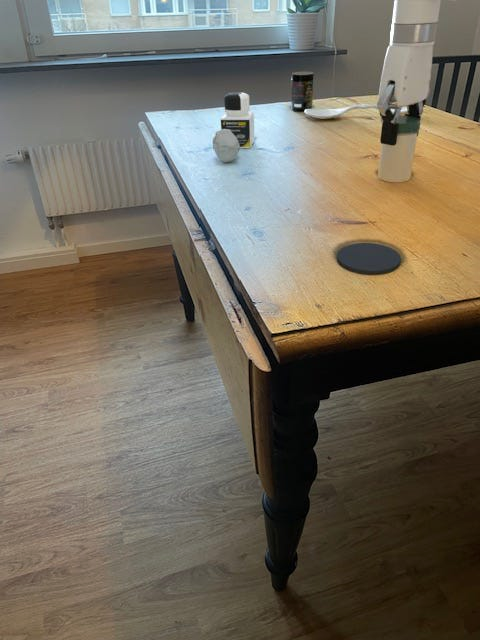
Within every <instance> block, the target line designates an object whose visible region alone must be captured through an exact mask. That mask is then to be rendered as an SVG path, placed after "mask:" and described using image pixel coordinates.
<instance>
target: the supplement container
mask: <svg viewBox="0 0 480 640" xmlns="http://www.w3.org/2000/svg"><path fill="white" fill-rule="evenodd" d="M314 79H315V72H313V71H295V72H291V97H290V98H291V99H290V100H291V101H290V102H291V103H290V104H291V105H290V107H291V110H292V111H293V112H298V113H299V112H300V113H301V112H303V113H305V109H313V107H314V106H313V103H314V81H315V80H314Z"/></svg>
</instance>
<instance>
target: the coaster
mask: <svg viewBox="0 0 480 640" xmlns="http://www.w3.org/2000/svg"><path fill="white" fill-rule="evenodd" d="M336 262H337V263H338V264H339V266H341V267H342V268H343V269H346V270H347V271H350V272H352V273H356V274H361V275H372V276H373V275H375V276H376V275H384V274H389V273H391V272H394V271H395V270H397V269H399V267H400V265H401V262H402V257H401V254H400V253H399V252H398V251H397V250H396V249H393V248H392V247H390V246H387V245H385V244H380V243H375V242H356V243H351V244H350V243H349V244H347V245H344V246H343V247H341V248H340V249H339V250H338V251H337V253H336Z"/></svg>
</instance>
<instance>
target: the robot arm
mask: <svg viewBox="0 0 480 640" xmlns="http://www.w3.org/2000/svg"><path fill="white" fill-rule="evenodd" d="M441 1H442V0H394V2H393V11H392V21H391V22H392V23H391V28H390V29H391V30H390V39H389V45H388V46H387V49H386V53H385V57H384V61H383V67H382V71H381V77H380V84H379V90H378V98H377V99H378V101H377V103H376V105H377V107H378V109H377V110H378V112H379V116H380V122H381V133H380V138H379V139H380V141H379V142H380V144H381V145H382V144H387V145H392V146H394V145H396V142H397V134H398V126H399V123H396V122H397V120H398V117H399V116H400V115H401V114H400V111H401V109H402V107H405V106H407V113H404V116H413V117H417V118H419V119H420V121H421V120H422V119H421V118H422V115H423V113H424V108H425V105H426V103H427V99H428V97H429V96H430V93H431V88H430V83H431V76H432V67H433V54H434V53H433V52H434V45H435V43H436V42H435V40H436V36H437V35H436V34H437V29H438V22H439V15H440V9H441V3H442V2H441ZM447 1H450V2H457V1H458V2H459V1H460V0H447ZM390 109H395V111H394V114H392V112H391V110H390ZM419 133H420V129H419V130H418V131H417V137H419Z"/></svg>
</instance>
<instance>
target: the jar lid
mask: <svg viewBox="0 0 480 640" xmlns="http://www.w3.org/2000/svg"><path fill="white" fill-rule="evenodd" d="M396 123H399V126H398V134H407V133H414V132H417V131H418V130H419V131H420V128H421V120H420V119H419V118H417V117H413V116H405V115H399V117H398V120H397V122H396Z"/></svg>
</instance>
